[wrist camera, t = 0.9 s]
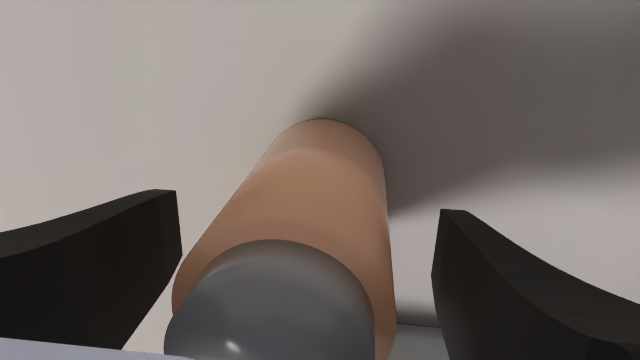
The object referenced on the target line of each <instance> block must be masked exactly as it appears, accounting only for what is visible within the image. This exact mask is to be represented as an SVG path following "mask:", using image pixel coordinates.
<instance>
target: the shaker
mask: <svg viewBox="0 0 640 360" xmlns="http://www.w3.org/2000/svg"><path fill="white" fill-rule="evenodd" d="M172 312H173V317H172V319H171V321H170V323H169V325H168V327H167V331H166V334H165V340H164V355H172V356H182V357H188V358H191V359H194V360H387V359H388V357H389V355H390V353H391V350H392V347H393V345H394V340H395V335H396V309H395V297H394V284H393V272H392V260H391V248H390V235H389V223H388V211H387V198H386V186H385V175H384V167H383V164H382V160H381V158H380V156H379V153H378V152H377V150H376V148H375V147H374V145H373V144H372V143H371V142H370V140H369V139H368V138H367V137H366V136H364V135H363V134H362V133H361V132H359V131H358V130H357V129H355V128H353V127H351V126H349V125H347V124H344V123H342V122H338V121H334V120H327V119H314V120H308V121H304V122H301V123H298V124H296V125H293V126H292V127H290V128H288V129H287V130H285V131H284V132H283V133H281V134H280V135H279V136H278V137H277V138H276V139H275V140H274V142H273V143H272V144H271V146H270V147H269V148H268V150H267V151H266V152H265V154H264V155H263V156H262V158H261V159H260V160H259V161H258V163H257V164H256V165H255V167H254V168H253V169H252V171H251V172H250V173H249V175H248V176H247V177H246V179H245V180H244V181H243V183H242V184H241V185H240V186H239V188H238V189H237V190H236V192H235V193H234V194H233V196H232V197H231V198H230V200H229V201H228V202H227V204H226V205H225V206H224V208H223V209H222V210H221V212H220V213H219V214H218V215H217V217H216V218H215V219H214V221H213V222H212V223H211V225H210V226H209V227H208V229H207V230H206V231H205V233H204V234H203V235H202V237H201V238H200V239H199V240H198V242H197V243H196V244H195V246H194V247H193V248H192V250H191V251H190V252H189V254H188V255H187V257H186V258H185V259H184V261H183V262H182V264H181V266H180V268H179V270H178V272H177V274H176V277H175V281H174V284H173V290H172Z"/></svg>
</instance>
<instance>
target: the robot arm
mask: <svg viewBox="0 0 640 360" xmlns="http://www.w3.org/2000/svg"><path fill="white" fill-rule="evenodd" d="M182 255H183V254H182V244H181V235H180V225H179V216H178V206H177V197H176V191H174V190H159V189H153V190H147V191H142V192H138V193H135V194H132V195H128V196H125V197H122V198H119V199H116V200H113V201H110V202H107V203H104V204H101V205H98V206H95V207H92V208H89V209H86V210H82V211H79V212H76V213H72V214H69V215H66V216H63V217H59V218H56V219H53V220H49V221H46V222H42V223H39V224H35V225H31V226H27V227H23V228H18V229H14V230H10V231H5V232H1V233H0V360H194V359H191V358H188V357H182V356H172V355H163V354H153V353H144V352H134V351H124V350H121V349H122V348H123V346H124V345H125V344H126V342H127V341H128V340H129V338H130V337H131V335H132V334H133V333H134V331H135V330H136V328H137V327H138V326H139V324H140V323H141V321H142V320H143V319H144V317H145V316H146V315H147V313H148V312H149V310H150V309H151V308H152V306H153V305H154V303H155V302H156V301H157V299H158V298H159V296H160V295H161V293H162V292H163V291H164V289H165V288H166V286H167V285H168V283H169V281H170V279H171V278H172V276H173V274H174V272H175V270H176V268H177V266H178V264H179V261H180V259H181V257H182ZM431 279H432V287H433V295H434V303H435V309H436V312H437V316H438V320H439V323H440V327H441V331H442V334H443V338H444V341H445V345H446V348H447V352H448V356H449V359H450V360H640V304H637V303H635V302H632V301H630V300H627V299H625V298H622V297H619V296H617V295H614V294H612V293H609V292H607V291H604V290H602V289H600V288H597V287H595V286H593V285H591V284H588V283H586V282H584V281H582V280H580V279H578V278H576V277H574V276H572V275H570V274H568V273H566V272H564V271H562V270H559V269H558V268H556V267H554V266H552V265H550V264H548V263H546V262H545V261H543V260H541V259H540V258H538V257H536V256H535V255H533V254H531V253H530V252H528V251H526V250H525V249H523V248H521V247H520V246H518V245H517V244H515V243H514V242H512V241H511V240H509V239H508V238H506V237H505V236H503V235H502V234H500V233H499V232H497V231H496V230H494V229H493V228H492V227H490V226H489V225H487V224H486V223H484V222H483V221H481V220H480V219H478V218H477V217H475V216H474V215H472V214H471V213H469V212H467V211H465V210H451V209H441V210H440V217H439V224H438V231H437V238H436V245H435V252H434V259H433V266H432V272H431Z"/></svg>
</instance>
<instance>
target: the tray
mask: <svg viewBox="0 0 640 360" xmlns="http://www.w3.org/2000/svg"><path fill="white" fill-rule="evenodd" d="M387 360H450V359H449V356H448V352H447V348H446V345H445V341H444V338H443V334H442V331H441V328H437V327H426V326H416V325H405V324H396V335H395V340H394V345H393V347H392V350H391V353H390V355H389V357H388V359H387Z"/></svg>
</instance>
